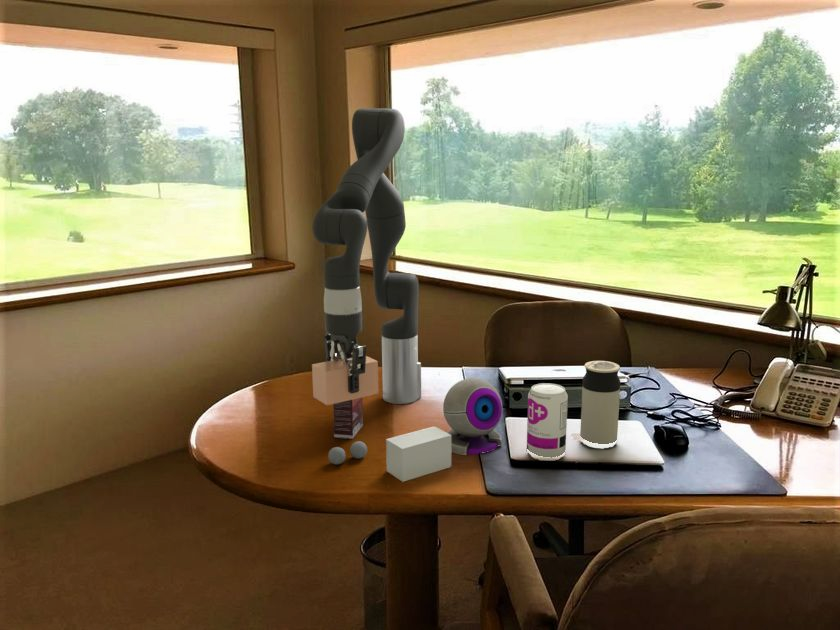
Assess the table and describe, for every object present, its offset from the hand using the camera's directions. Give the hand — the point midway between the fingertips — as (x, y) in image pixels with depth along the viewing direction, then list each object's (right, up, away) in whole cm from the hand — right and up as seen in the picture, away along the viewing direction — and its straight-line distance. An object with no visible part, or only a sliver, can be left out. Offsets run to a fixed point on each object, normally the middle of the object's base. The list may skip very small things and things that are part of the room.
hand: (345, 387), depth 151 cm
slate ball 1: (-2, -16, +2) cm, 16 cm away
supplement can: (+42, -15, +6) cm, 45 cm away
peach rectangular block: (0, -2, 0) cm, 2 cm away
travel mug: (+55, -14, +12) cm, 58 cm away
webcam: (+27, -14, +12) cm, 33 cm away
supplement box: (-1, -12, +19) cm, 23 cm away
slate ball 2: (+2, -15, +5) cm, 16 cm away
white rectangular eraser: (+15, -17, -1) cm, 23 cm away
